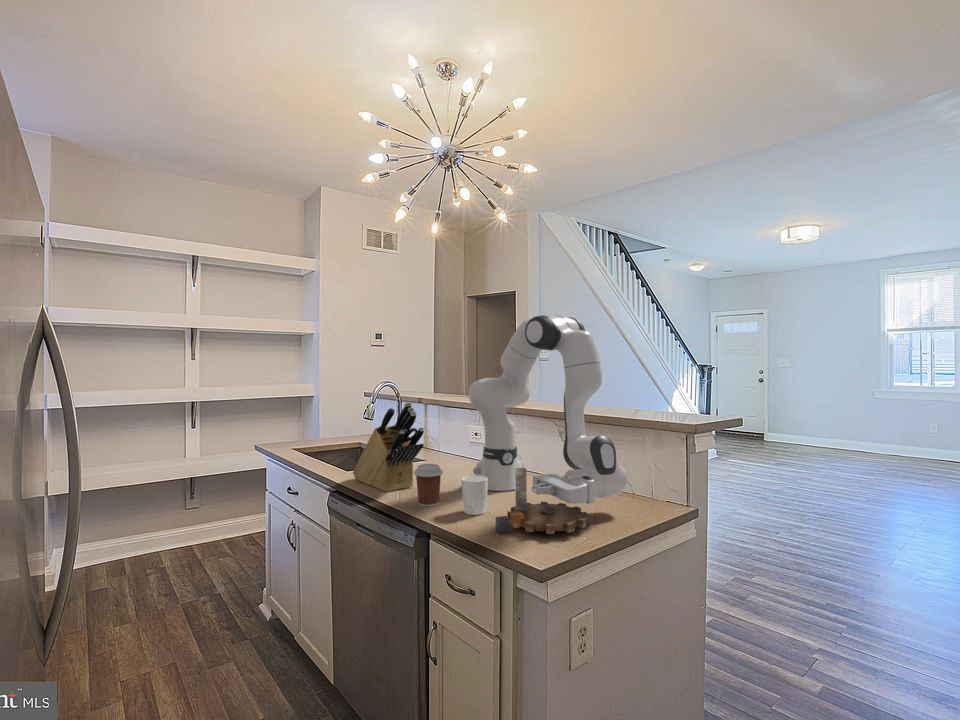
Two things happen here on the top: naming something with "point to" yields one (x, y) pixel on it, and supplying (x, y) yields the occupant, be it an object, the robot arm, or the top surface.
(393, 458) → the knife block
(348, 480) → the top surface
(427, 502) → the coffee cup
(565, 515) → the sprocket
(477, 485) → the white cup
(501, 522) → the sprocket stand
